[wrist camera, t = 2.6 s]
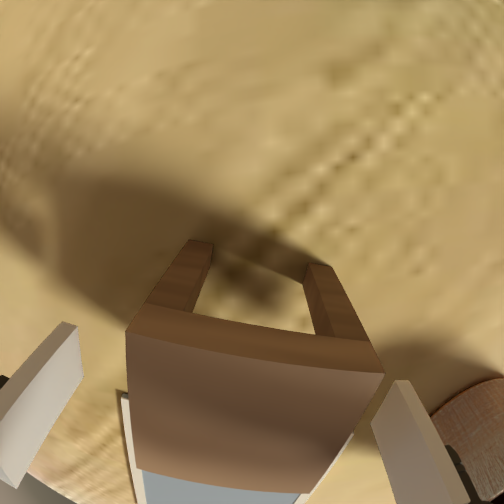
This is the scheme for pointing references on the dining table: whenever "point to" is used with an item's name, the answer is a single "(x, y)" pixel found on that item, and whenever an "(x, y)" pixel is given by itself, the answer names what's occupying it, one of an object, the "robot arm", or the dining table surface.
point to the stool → (245, 385)
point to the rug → (196, 494)
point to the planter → (477, 435)
